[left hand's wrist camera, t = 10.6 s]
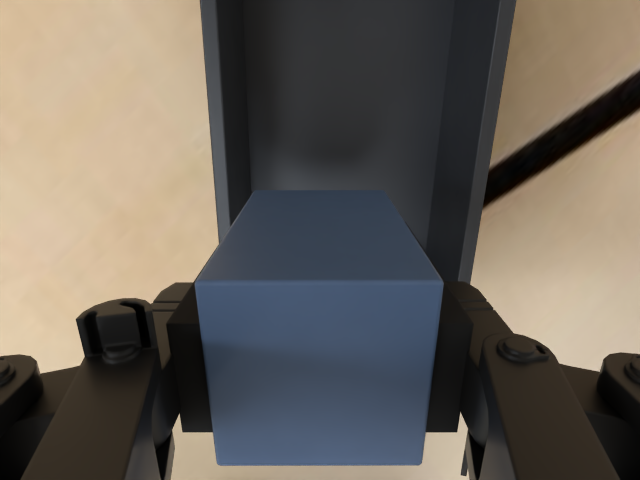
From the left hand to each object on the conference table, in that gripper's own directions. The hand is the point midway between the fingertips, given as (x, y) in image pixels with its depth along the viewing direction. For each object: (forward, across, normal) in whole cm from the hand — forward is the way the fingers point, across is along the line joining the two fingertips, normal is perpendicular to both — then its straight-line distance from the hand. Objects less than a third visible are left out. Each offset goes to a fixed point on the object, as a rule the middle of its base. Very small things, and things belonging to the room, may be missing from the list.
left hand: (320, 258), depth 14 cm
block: (0, 0, 0) cm, 0 cm away
